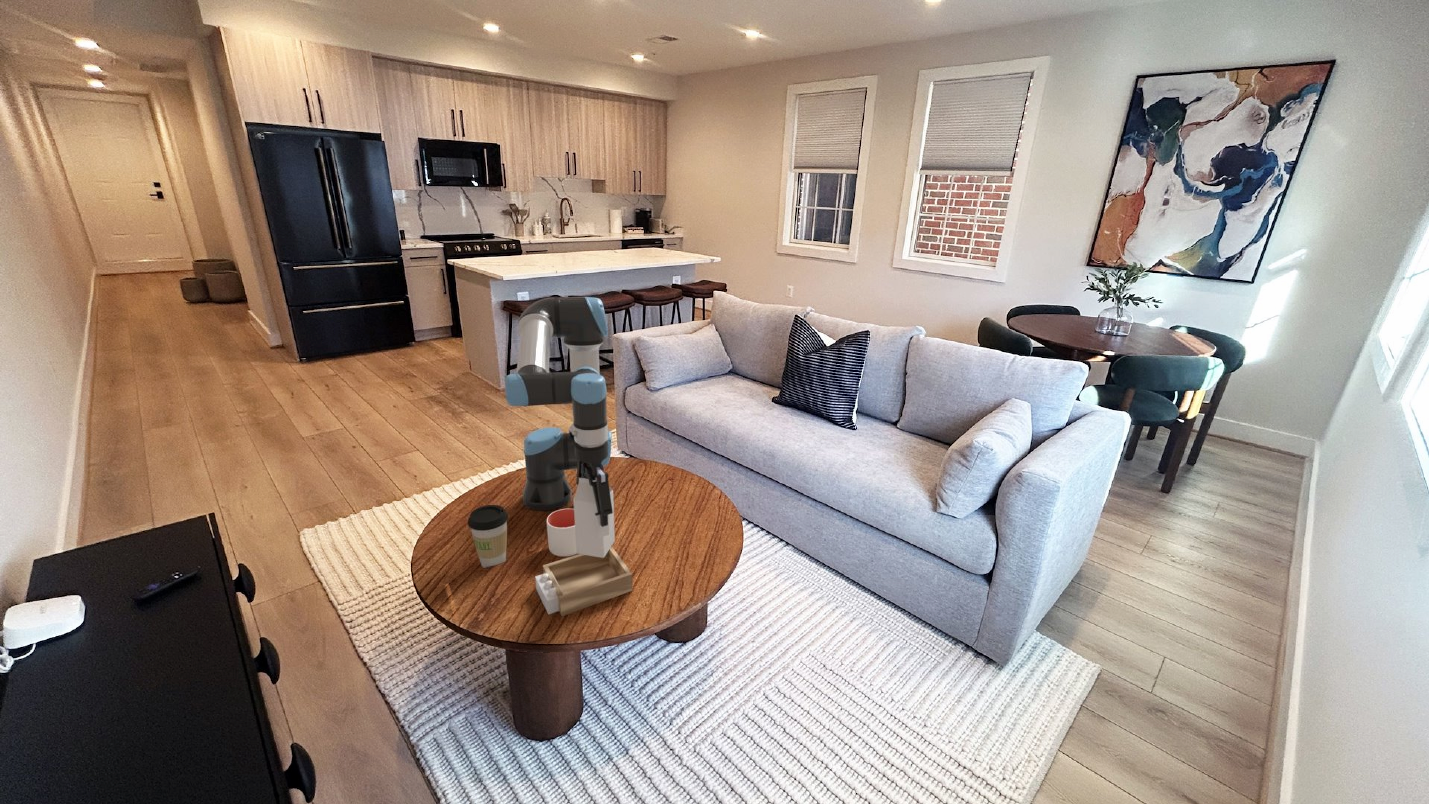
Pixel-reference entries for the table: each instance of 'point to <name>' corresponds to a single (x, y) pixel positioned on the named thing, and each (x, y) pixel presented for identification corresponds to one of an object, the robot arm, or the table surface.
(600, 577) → the crate
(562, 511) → the cup
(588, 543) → the milk carton
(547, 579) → the egg box
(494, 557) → the coffee cup
